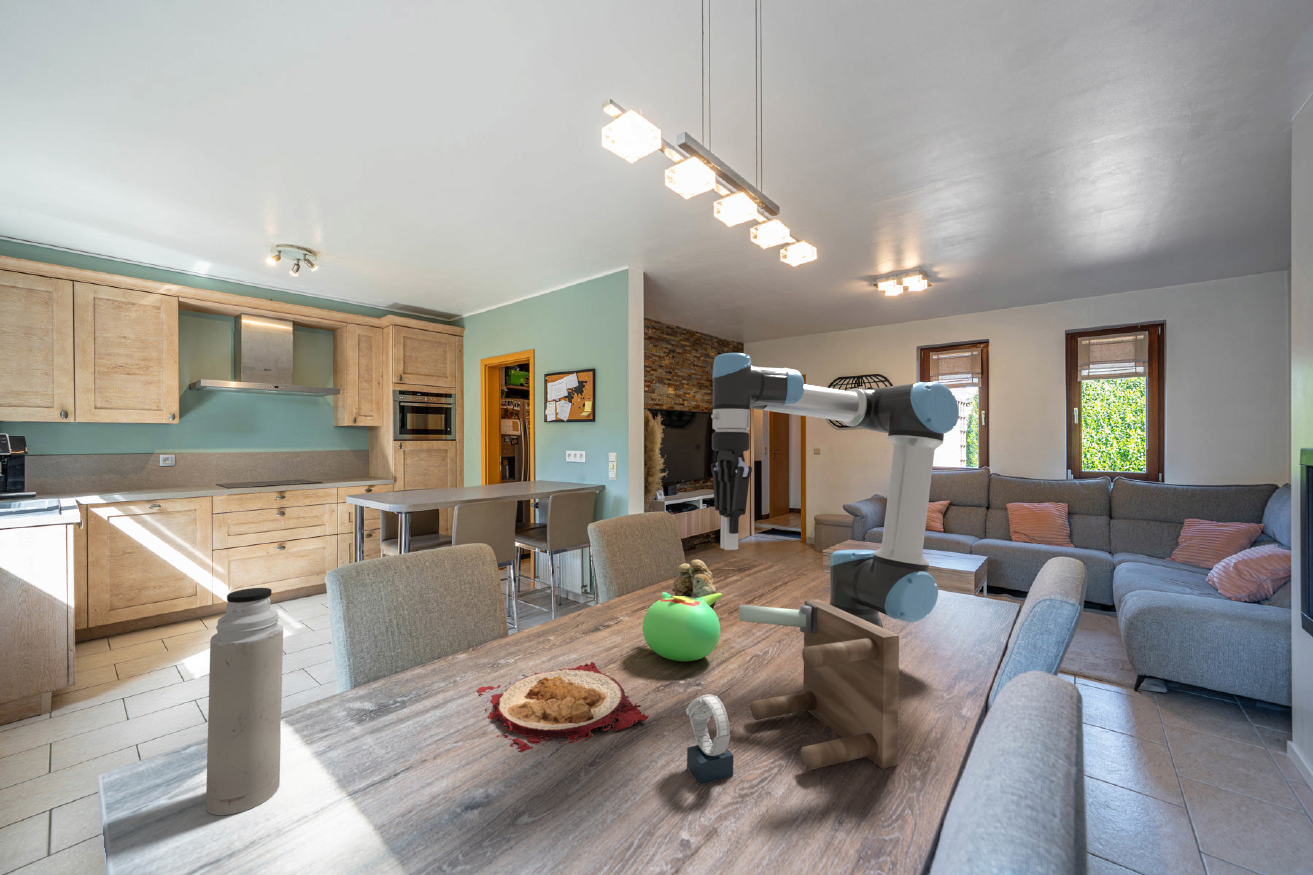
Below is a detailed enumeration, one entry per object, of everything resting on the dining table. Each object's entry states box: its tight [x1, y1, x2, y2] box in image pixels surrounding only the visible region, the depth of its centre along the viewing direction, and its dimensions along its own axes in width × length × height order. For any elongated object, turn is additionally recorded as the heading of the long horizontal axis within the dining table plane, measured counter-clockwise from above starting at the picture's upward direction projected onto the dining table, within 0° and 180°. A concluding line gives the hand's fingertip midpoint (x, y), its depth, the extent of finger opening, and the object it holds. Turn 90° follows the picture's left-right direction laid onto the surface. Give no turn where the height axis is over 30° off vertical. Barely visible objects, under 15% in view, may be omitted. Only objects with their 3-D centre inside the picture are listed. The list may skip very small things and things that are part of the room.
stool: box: [749, 599, 900, 771], centre depth 89 cm, size 15×20×20 cm
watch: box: [685, 694, 734, 786], centre depth 80 cm, size 6×8×11 cm
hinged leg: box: [738, 604, 812, 634], centre depth 99 cm, size 13×3×4 cm, turn 75°
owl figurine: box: [671, 559, 721, 623], centre depth 148 cm, size 18×12×17 cm, turn 34°
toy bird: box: [642, 591, 723, 662], centre depth 123 cm, size 18×17×15 cm
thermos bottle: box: [205, 587, 284, 816], centre depth 73 cm, size 8×8×28 cm
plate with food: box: [477, 661, 649, 753], centre depth 99 cm, size 25×26×4 cm
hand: (729, 548), depth 107 cm, fingers closed
